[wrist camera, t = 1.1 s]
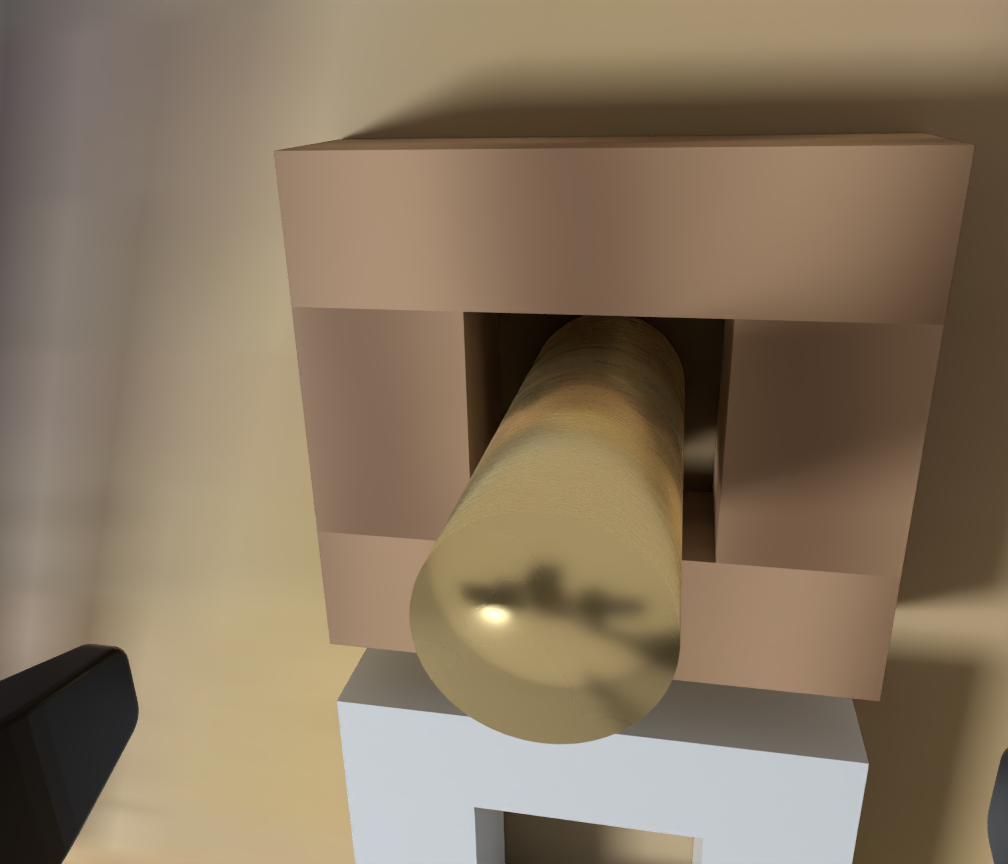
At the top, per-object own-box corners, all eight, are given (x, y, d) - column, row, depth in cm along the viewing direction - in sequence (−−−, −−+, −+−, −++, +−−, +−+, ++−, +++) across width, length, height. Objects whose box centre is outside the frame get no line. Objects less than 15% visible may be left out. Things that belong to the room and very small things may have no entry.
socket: (844, 669, 20) (869, 763, 17) (797, 975, 23) (812, 1094, 21) (380, 623, 22) (336, 700, 19) (406, 911, 26) (372, 1011, 23)
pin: (689, 314, 17) (687, 521, 9) (680, 460, 19) (673, 759, 10) (531, 310, 18) (400, 502, 10) (532, 451, 19) (417, 727, 11)
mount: (924, 133, 15) (975, 144, 13) (852, 612, 19) (879, 701, 16) (338, 139, 18) (273, 151, 15) (376, 570, 21) (330, 643, 19)
